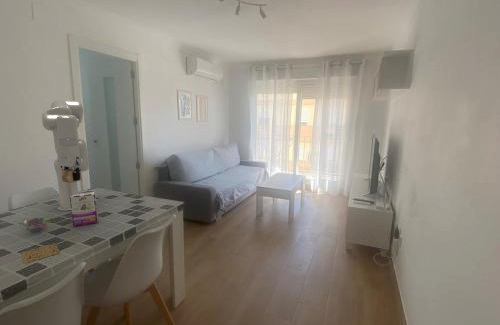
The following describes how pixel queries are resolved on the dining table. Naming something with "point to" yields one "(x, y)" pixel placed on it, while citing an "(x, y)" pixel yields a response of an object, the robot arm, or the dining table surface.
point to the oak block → (68, 176)
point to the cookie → (40, 253)
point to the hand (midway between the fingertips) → (72, 179)
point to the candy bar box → (84, 208)
